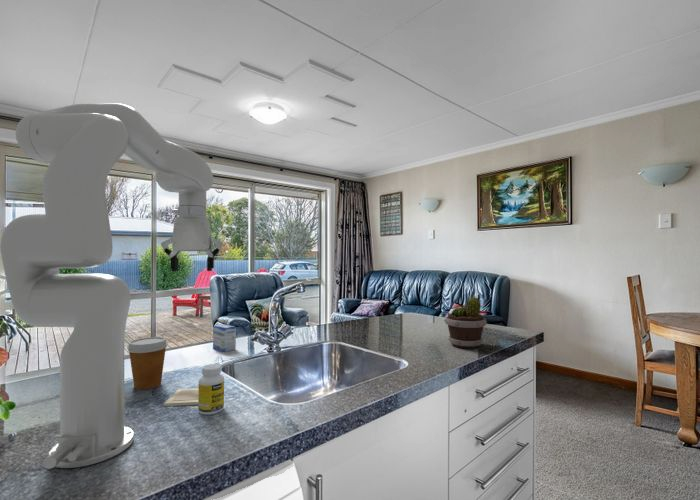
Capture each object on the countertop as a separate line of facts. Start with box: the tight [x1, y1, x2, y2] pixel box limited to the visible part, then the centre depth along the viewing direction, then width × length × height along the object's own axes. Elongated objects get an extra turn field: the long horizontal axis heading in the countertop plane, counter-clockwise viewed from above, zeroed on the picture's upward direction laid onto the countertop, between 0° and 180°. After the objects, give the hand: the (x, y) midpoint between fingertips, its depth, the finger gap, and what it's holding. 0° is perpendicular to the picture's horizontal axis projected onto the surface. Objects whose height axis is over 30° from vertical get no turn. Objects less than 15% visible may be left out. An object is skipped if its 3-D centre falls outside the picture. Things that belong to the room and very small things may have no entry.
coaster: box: [163, 387, 199, 407], centre depth 88 cm, size 9×9×1 cm
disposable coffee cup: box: [126, 336, 168, 391], centre depth 97 cm, size 10×10×12 cm
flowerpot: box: [443, 293, 488, 349], centre depth 136 cm, size 14×15×20 cm
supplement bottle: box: [197, 363, 225, 416], centre depth 81 cm, size 5×5×10 cm
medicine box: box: [212, 323, 237, 353], centre depth 133 cm, size 8×4×9 cm, turn 55°
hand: (192, 271), depth 107 cm, fingers open, 9 cm apart
